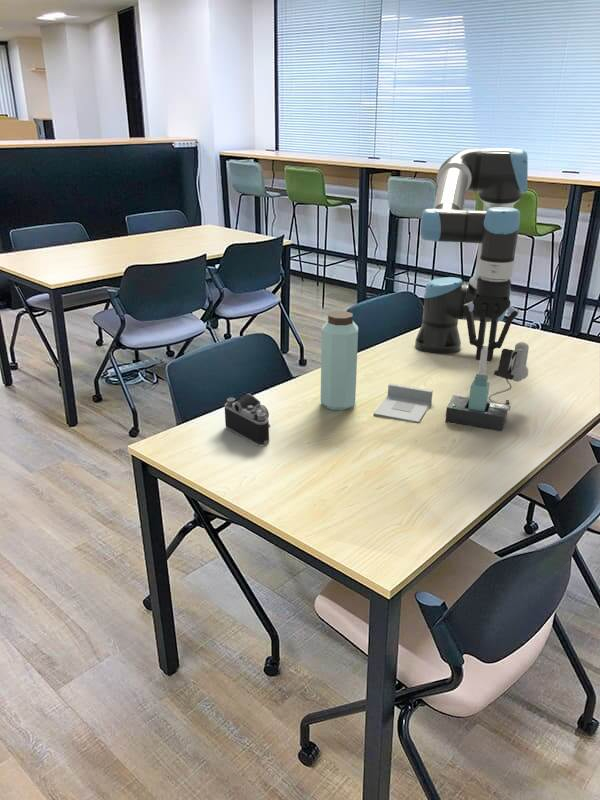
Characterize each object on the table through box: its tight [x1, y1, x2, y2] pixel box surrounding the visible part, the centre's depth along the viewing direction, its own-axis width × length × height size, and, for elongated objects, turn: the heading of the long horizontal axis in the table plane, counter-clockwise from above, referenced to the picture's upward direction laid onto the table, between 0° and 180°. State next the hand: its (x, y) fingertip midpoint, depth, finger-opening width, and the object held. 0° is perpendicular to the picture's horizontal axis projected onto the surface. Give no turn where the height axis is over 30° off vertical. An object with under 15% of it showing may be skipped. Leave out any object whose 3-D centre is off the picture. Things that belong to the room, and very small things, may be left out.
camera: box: [224, 392, 271, 446], centre depth 154 cm, size 16×8×10 cm, turn 43°
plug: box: [468, 373, 491, 412], centre depth 158 cm, size 4×4×12 cm
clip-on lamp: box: [488, 341, 530, 405], centre depth 165 cm, size 12×6×18 cm, turn 135°
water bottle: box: [320, 310, 359, 411], centre depth 166 cm, size 10×10×25 cm
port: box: [444, 395, 512, 432], centre depth 160 cm, size 8×15×5 cm, turn 66°
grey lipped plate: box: [373, 383, 433, 424], centre depth 167 cm, size 14×12×4 cm
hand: (482, 372), depth 155 cm, fingers closed
